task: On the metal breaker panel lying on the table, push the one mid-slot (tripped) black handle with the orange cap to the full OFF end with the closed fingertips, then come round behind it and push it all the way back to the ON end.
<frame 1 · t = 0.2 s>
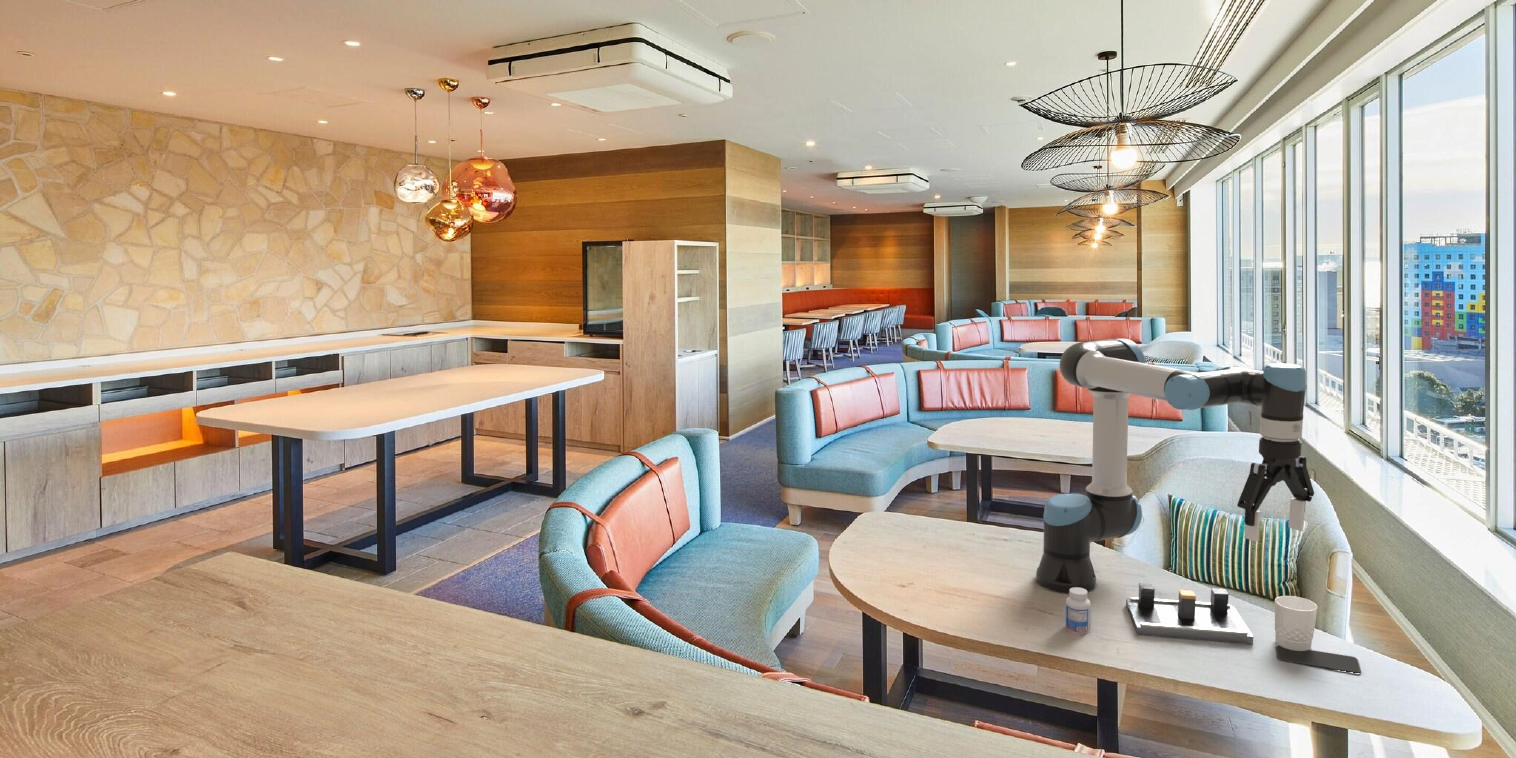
hand: (1273, 534, 176), 27 cm above the table, fingers open, 13 cm apart
tripped breaker: (1186, 604, 195), point 5 cm above the table, slide at 0.0 cm
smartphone: (1316, 662, 177), on the table
breaker panel: (1185, 624, 195), on the table
white cup: (1292, 646, 184), resting on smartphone
pill bottle: (1077, 630, 195), on the table
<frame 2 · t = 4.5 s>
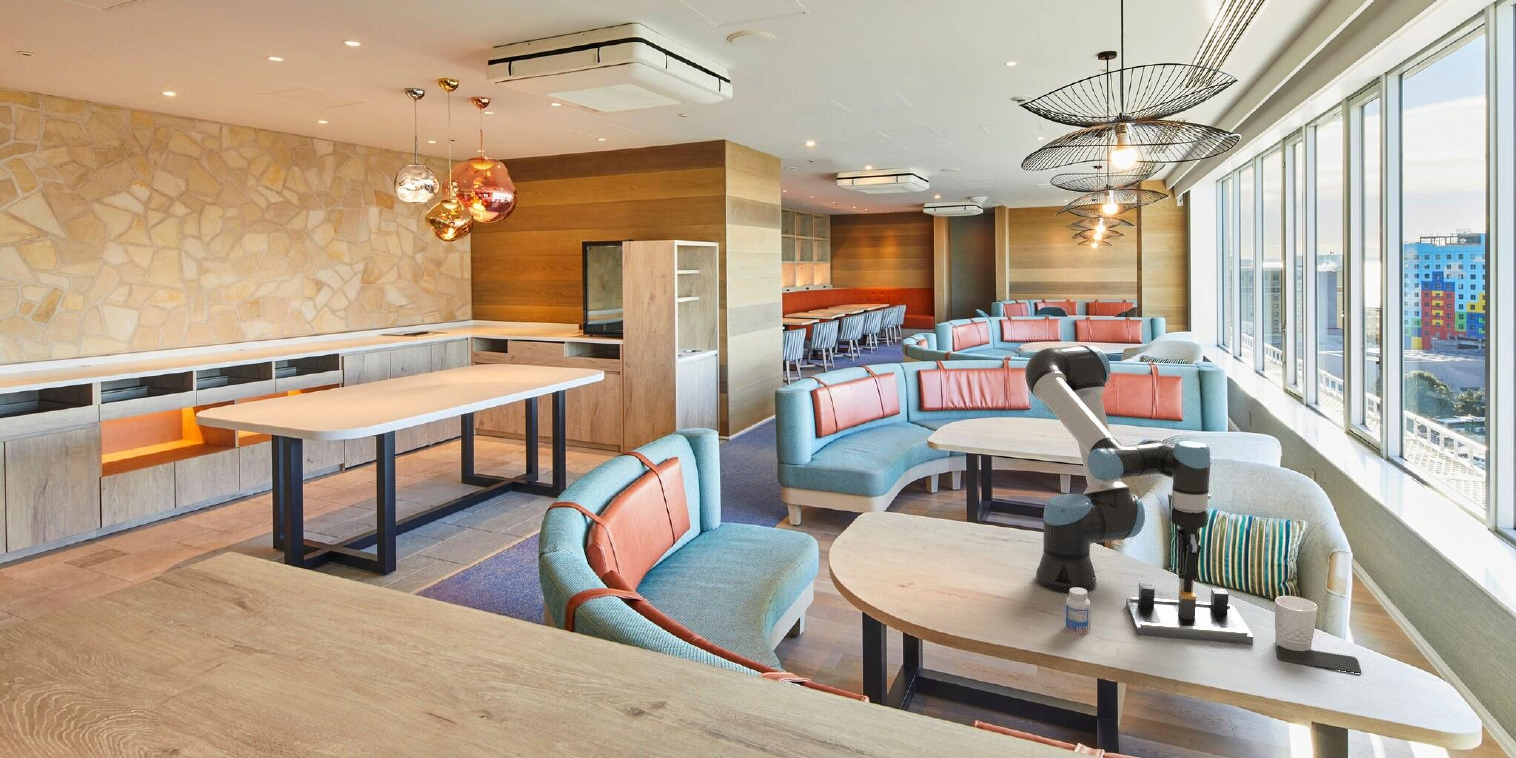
hand: (1185, 602, 197), 5 cm above the table, fingers closed
tripped breaker: (1187, 604, 194), point 5 cm above the table, slide at -0.3 cm, touching gripper
everything else where it was.
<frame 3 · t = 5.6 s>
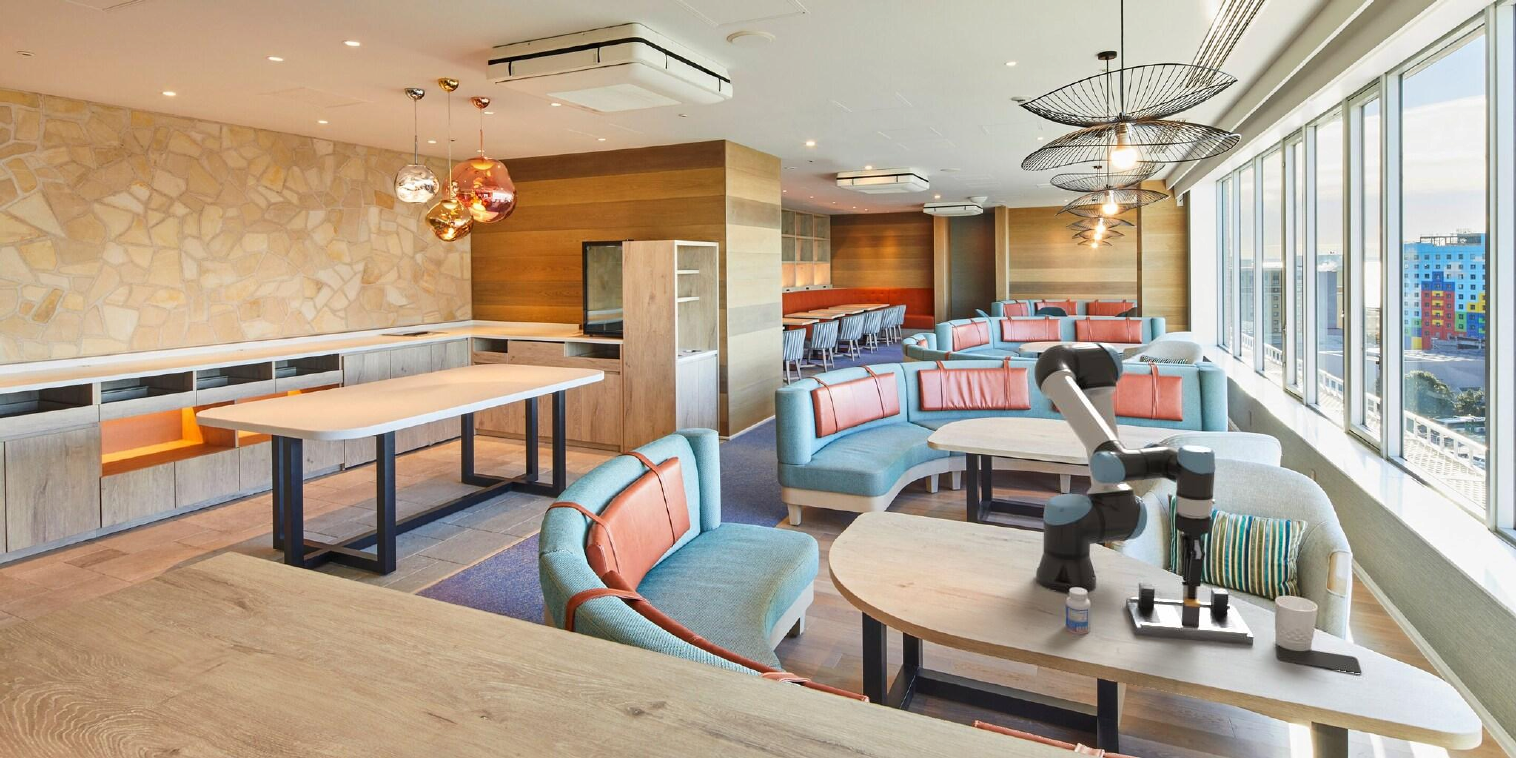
hand: (1189, 609, 193), 5 cm above the table, fingers closed
tripped breaker: (1190, 612, 191), point 5 cm above the table, slide at -4.1 cm, touching gripper
everything else where it was.
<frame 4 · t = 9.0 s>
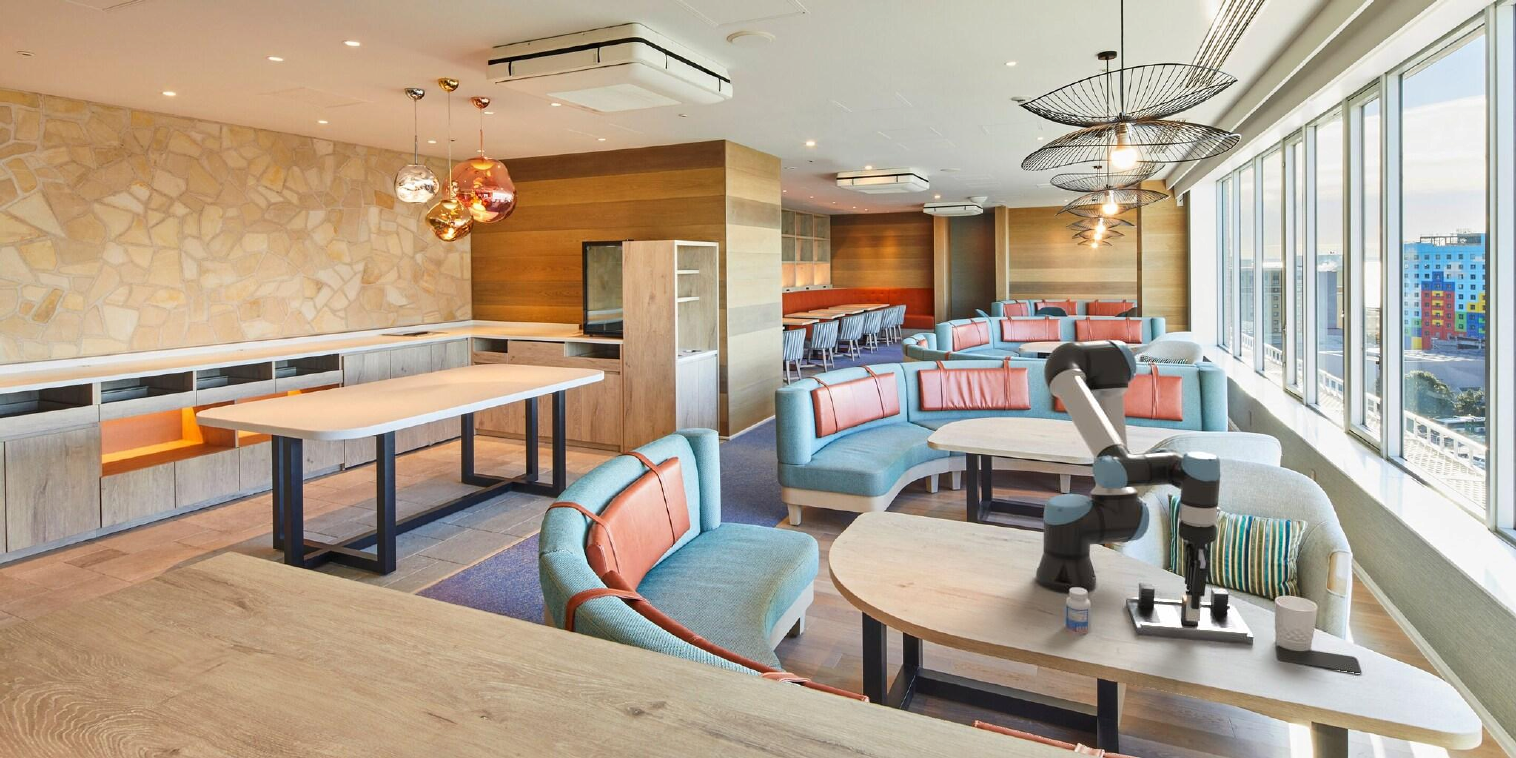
hand: (1192, 619, 189), 4 cm above the table, fingers closed
tripped breaker: (1190, 610, 192), point 5 cm above the table, slide at -3.2 cm, touching gripper
everything else where it was.
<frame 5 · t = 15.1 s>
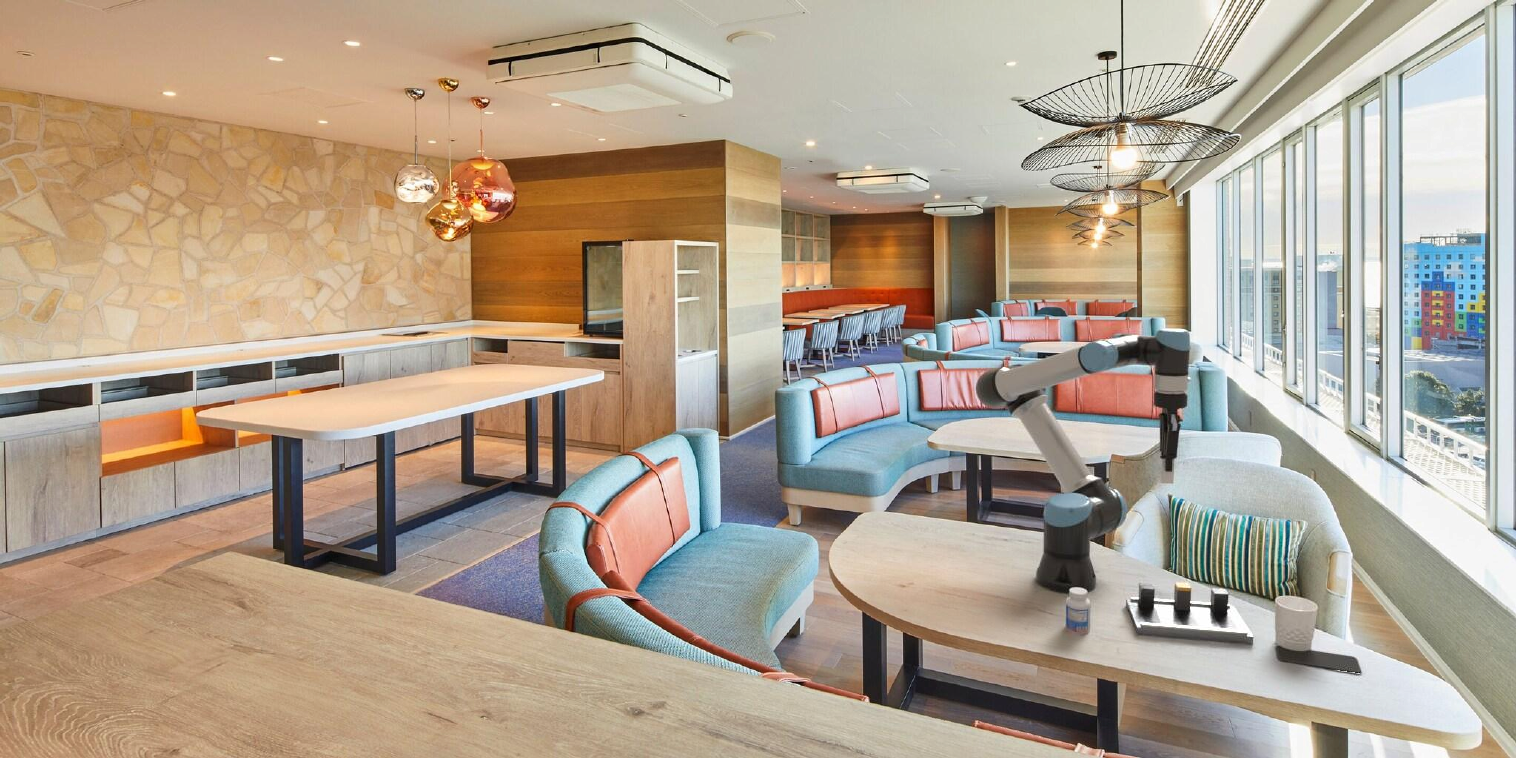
hand: (1166, 482, 208), 29 cm above the table, fingers closed
tripped breaker: (1182, 596, 199), point 5 cm above the table, slide at 4.5 cm
everything else where it was.
at the end: tripped breaker slide at 4.5 cm; white cup moved 0.2 cm from its start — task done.
